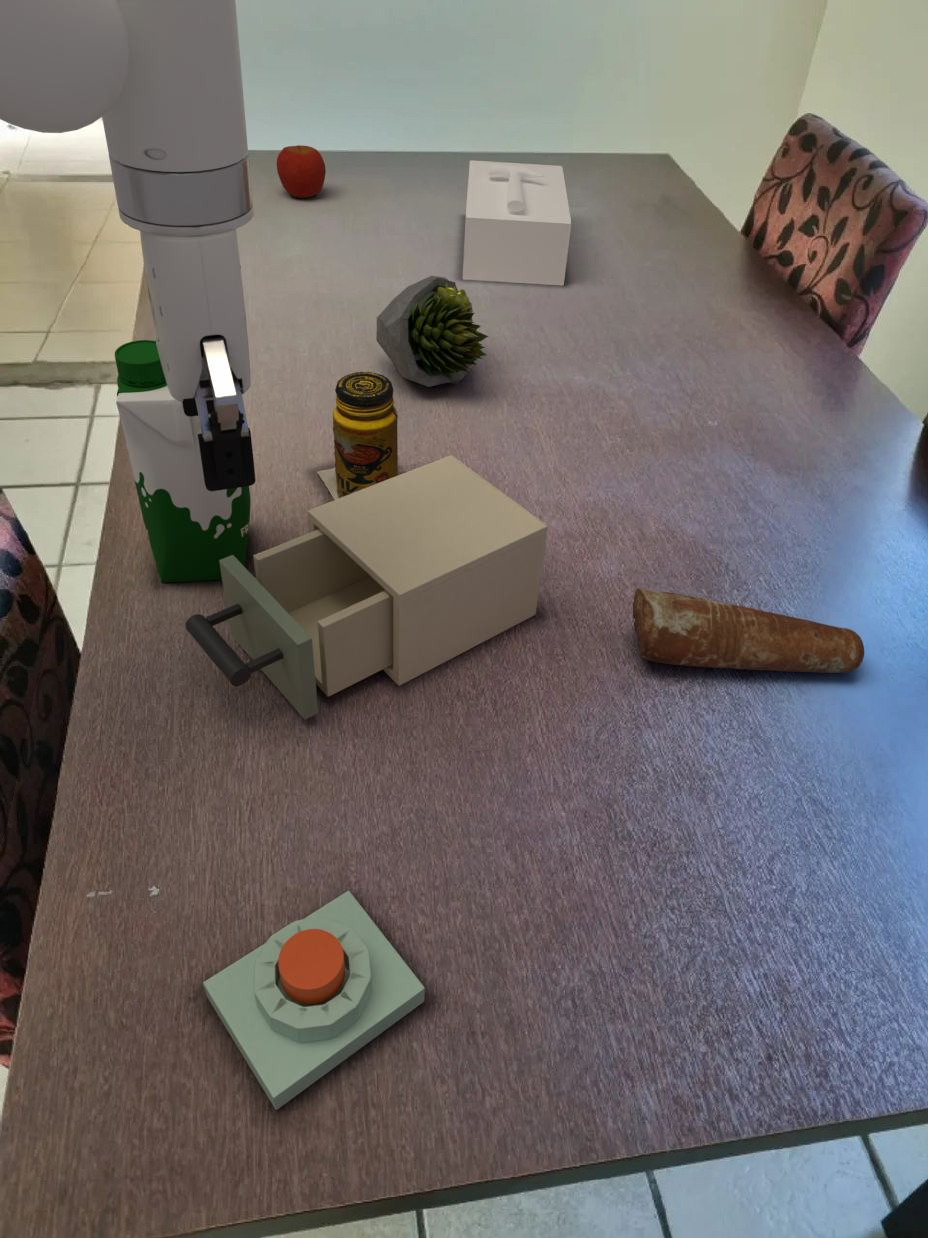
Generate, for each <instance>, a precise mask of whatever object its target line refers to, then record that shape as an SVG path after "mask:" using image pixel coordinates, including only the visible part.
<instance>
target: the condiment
mask: <svg viewBox="0 0 928 1238" xmlns="http://www.w3.org/2000/svg"><path fill="white" fill-rule="evenodd" d="M334 391H335V394H336V395H335V397H336V398H335V405H336V406H335V407H334V409H333V411H332V425H333V426H332V431H333V432H332V433H333V438H334V439H333V444H334V445H333V446H334V447H333V449H334V450H333V456H334V467H333V468H329V469H322V470H318V471H316V473H317V475H318V477H319V478H320V479H321V481H322V482H323V484H324V486H325V487H326V488H327V490H328V491H329V493H330V495H331V497H332V498H333V501H334V500H336V499H339V498H341V497H344V496H346V495H349V494H352V493H354V492H357V491H359V490H362V489H365V488H367V487H370V486H372V485H375V484H377V483H380V482H383V481H385V480H388V479H390V478H393V477H395V476H398V475H399V474H398V473H399V471H398V470H399V467H398V465H399V464H398V463H399V461H398V459H399V458H398V456H399V455H398V453H399V451H398V449H399V447H398V420H399V419H398V416H399V415H398V411H397V409H396V406H395V404H394V403H395V400H394V386H393V383H392V381H391V380H390V379H389V378H388V377H387V376H386V375H384V374H380V373H377V372H372V371H357V372H356V371H355V372H352V373H349V374H346V375H343V377H341V378H340V379H339V380H338V381H337V383H336V385H335V390H334Z"/></svg>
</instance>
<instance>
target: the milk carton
mask: <svg viewBox="0 0 928 1238" xmlns="http://www.w3.org/2000/svg"><path fill="white" fill-rule="evenodd" d="M114 361H115V365H116V369H117V377H116V378H117V379H116V381H117V382H116V384H117V391H116V401H115V405H116V407H117V411H118V416H119V419H120V422H121V426H122V430H123V434H124V439H125V443H126V447H127V452H128V457H129V462H130V465H131V470H132V471H131V472H132V474H133V479H134V484H135V488H136V489H135V490H136V494H137V497H138V502H139V507H140V511H141V515H142V519H143V524H144V527H145V532H146V535H147V538H148V542H149V546H150V548H151V552H152V555H153V559H154V562H155V566H156V569H157V573H158V575H159V580H160V582H161V583H178V582H179V583H180V582H182V583H183V582H202V581H218V580H219V581H220V580H221V581H222V575H221V569H220V563H219V560H221V559H224V558H226V557H229V556H231V555H234V557H235V558H236V559H237V560H238V561H239V562H240V563H241V564H242V565H243V566H244V567H245V568H246V564H247V563H246V562H247V553H248V544H249V535H250V524H251V523H250V522H251V505H252V504H251V501H252V500H251V490H250V486H245V487H239V488H232V489H225V490H218V491H209V490H207V489H206V486H205V482H204V475H203V468H202V462H201V455H200V448H199V441H198V434H202V430H201V425H200V420H199V416H191V417H189V416H186V415H185V413H184V410H183V404H182V401H181V402H179V401H177V400H176V399H174V398H173V397H172V396H171V395H170V392H169V389H168V386H167V383H166V379H165V376H164V372H163V369H162V365H161V361H160V357H159V353H158V349H157V345H156V340H152V339H140V340H133V341H129V342H127V343H123V344H121V345H120V346H118V347H117V348H116V349H115V350H114ZM208 415H209V417H210V414H208Z"/></svg>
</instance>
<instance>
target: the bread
mask: <svg viewBox="0 0 928 1238" xmlns="http://www.w3.org/2000/svg"><path fill="white" fill-rule="evenodd" d="M632 618H633V619H634V622H633V629H634V631H635V632H636V634H637V637H638V640H639V651H640V652H639V653H640V654H639V655H640V657H641V658H642V659H643V660H646V661H649V662H654V663H658V664H659V663H660V664H666V665H673V666H674V665H675V666H685V667H695V668H696V667H697V668H713V669H714V668H715V669H716V668H717V669H736V670H751V671H752V670H755V671H772V672H773V671H774V672H791V673H793V672H794V673H795V672H796V673H817V674H818V673H820V674H821V673H822V674H824V673H826V674H827V673H828V674H829V673H832V674H835V673H836V674H837V673H838V674H839V673H840V674H848V673H852V672H854V671H855V670H856V671H857V669H858V668H860V666H861V665H862V663H863V661H864V658H865V645H864V642H863V640H862V638H861V636H860V635H859V634H858V633H857V632H856V631H854V630H853V629H851V628H847V627H839V626H836V625H835V626H834V625H831V624H827V623H826V624H825V623H821V622H816V621H813V620H809V619H805V618H799V617H794V616H789V615H785V614H779V613H775V612H772V611H765V610H760V609H756V608H753V607H748V606H743V605H737V604H732V603H726V602H722V601H718V600H712V599H708V598H701V597H696V596H691V595H685V594H681V593H675V592H668V591H657V590H651V589H647V588H640V587H639V588H636V590H635V593H634V597H633V602H632Z"/></svg>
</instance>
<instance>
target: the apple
mask: <svg viewBox="0 0 928 1238" xmlns="http://www.w3.org/2000/svg"><path fill="white" fill-rule="evenodd" d="M276 170H277V175H278V178H279V181H280V183H281V185H282V187H283V189H284V190H285V192H286V193H288V194H289V195H290V196H291V197H294V198H297V199H307V198H312V197H315V196H316V195H318V194H319V193H320V192H321V191H322V188H323V187H324V183H325V179H326V174H327V169H326V164H325V161H324V158H323V156H322V154H321V153H320V152H319V150H317V149H316V148H315V147H312V146H309V145H301V144H299V145H298V144H297V145H289V146H285V147H283V148H282V149H281V150H280V152H279V153H278V155H277V158H276Z"/></svg>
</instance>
